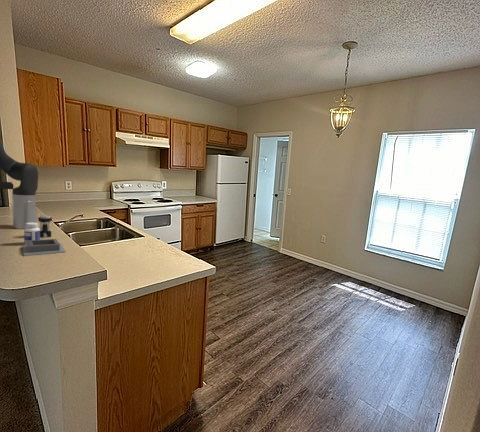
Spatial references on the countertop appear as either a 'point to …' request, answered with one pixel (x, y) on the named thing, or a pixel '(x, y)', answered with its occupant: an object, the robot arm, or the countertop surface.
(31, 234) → the pill bottle
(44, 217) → the push button
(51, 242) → the socket
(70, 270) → the countertop surface
